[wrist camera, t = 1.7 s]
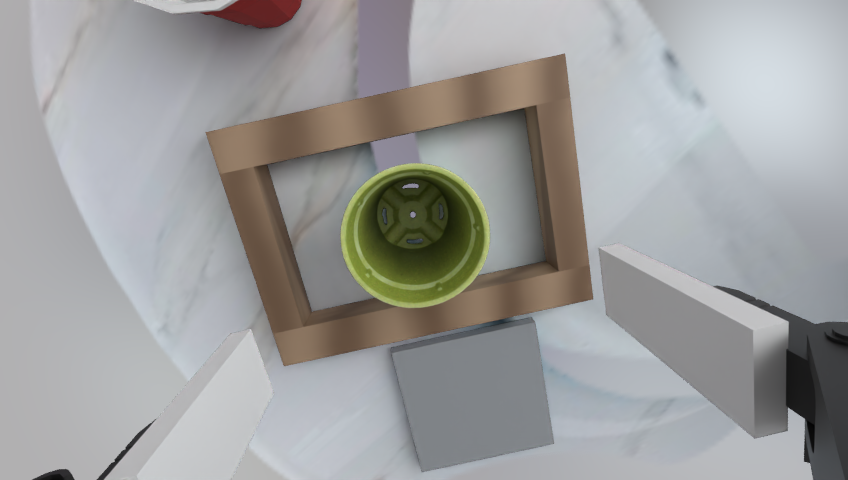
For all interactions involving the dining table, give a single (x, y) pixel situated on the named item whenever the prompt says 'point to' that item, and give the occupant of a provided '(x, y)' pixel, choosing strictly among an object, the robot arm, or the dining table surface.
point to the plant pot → (415, 236)
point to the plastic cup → (234, 10)
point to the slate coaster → (474, 394)
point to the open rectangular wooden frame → (388, 117)
